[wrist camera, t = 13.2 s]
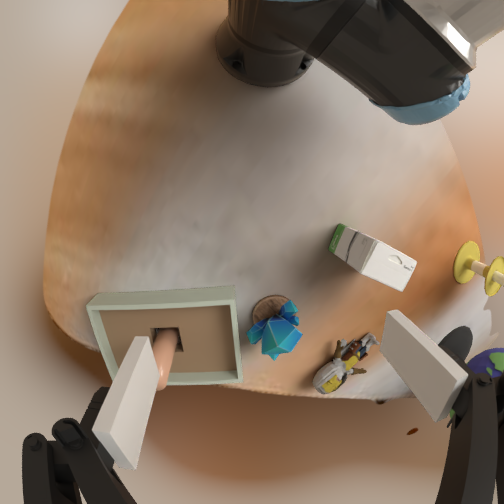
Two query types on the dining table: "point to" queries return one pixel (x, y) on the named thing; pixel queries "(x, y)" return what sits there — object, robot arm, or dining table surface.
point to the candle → (478, 268)
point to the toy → (342, 364)
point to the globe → (481, 363)
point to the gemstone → (275, 325)
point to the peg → (165, 353)
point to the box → (173, 315)
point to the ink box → (372, 257)
